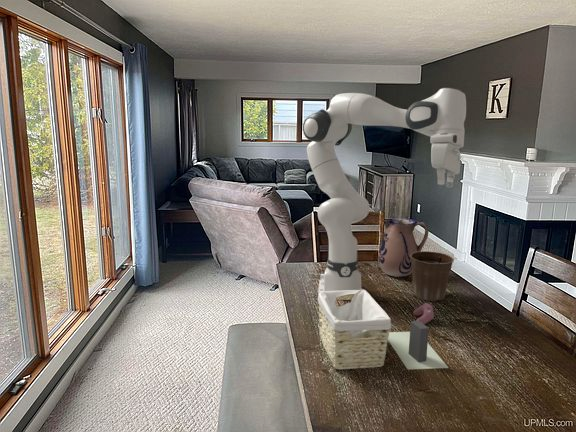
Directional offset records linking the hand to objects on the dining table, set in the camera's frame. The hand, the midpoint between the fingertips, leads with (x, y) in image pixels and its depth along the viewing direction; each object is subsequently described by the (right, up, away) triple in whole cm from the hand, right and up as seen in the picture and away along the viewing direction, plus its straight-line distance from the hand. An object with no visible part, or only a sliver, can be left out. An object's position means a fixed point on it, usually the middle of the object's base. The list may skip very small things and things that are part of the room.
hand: (445, 186), depth 134 cm
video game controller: (-2, -46, +15) cm, 48 cm away
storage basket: (-30, -49, -5) cm, 58 cm away
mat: (-11, -49, -5) cm, 51 cm away
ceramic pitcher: (+3, -36, +64) cm, 74 cm away
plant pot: (+7, -41, +38) cm, 56 cm away
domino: (-12, -50, -10) cm, 52 cm away
